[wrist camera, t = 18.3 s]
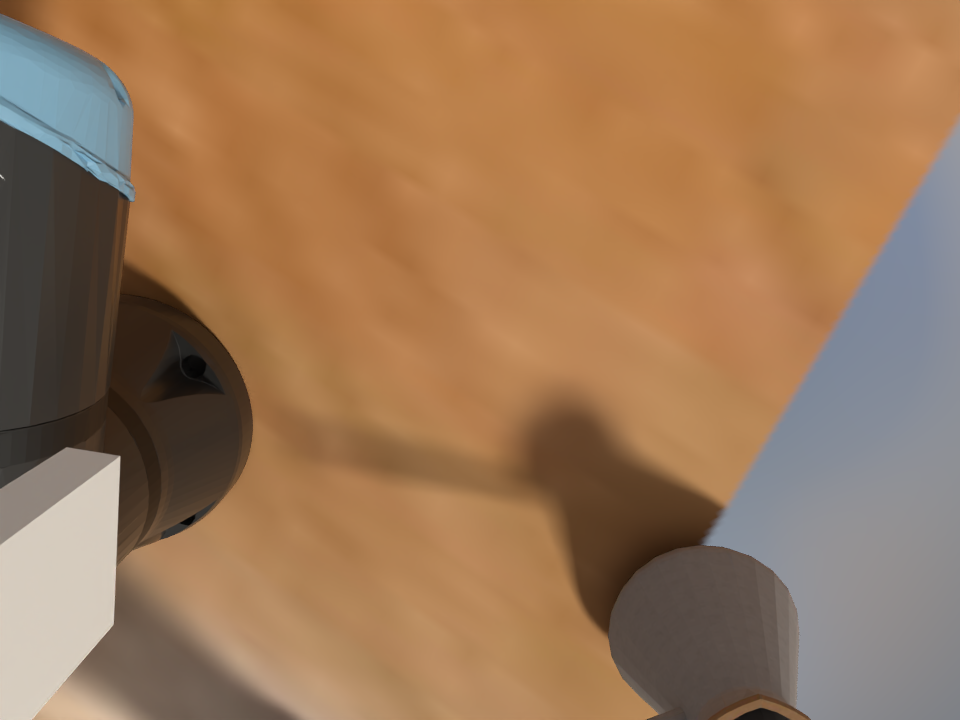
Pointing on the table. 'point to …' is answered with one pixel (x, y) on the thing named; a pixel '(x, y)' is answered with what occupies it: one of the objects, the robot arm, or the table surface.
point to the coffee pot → (708, 637)
